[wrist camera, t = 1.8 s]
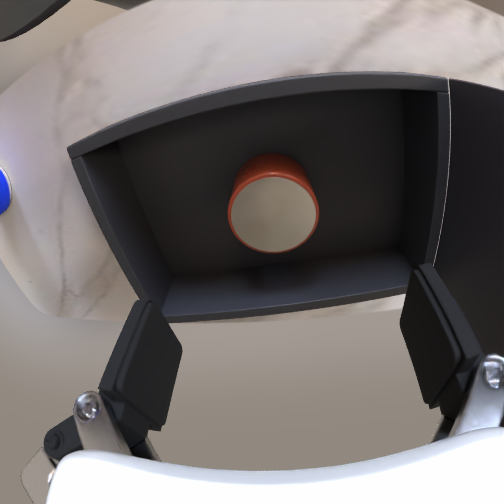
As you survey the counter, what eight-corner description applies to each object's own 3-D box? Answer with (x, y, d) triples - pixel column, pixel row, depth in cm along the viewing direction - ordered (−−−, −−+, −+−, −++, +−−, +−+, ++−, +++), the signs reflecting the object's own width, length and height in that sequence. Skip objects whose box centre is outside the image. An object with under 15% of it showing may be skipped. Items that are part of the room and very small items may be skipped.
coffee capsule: (226, 160, 16) (216, 183, 13) (304, 147, 16) (314, 166, 13) (243, 226, 19) (238, 260, 16) (313, 216, 18) (322, 248, 15)
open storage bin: (171, 279, 23) (155, 324, 19) (108, 126, 16) (65, 147, 12) (402, 247, 20) (427, 289, 16) (404, 72, 13) (448, 78, 9)
